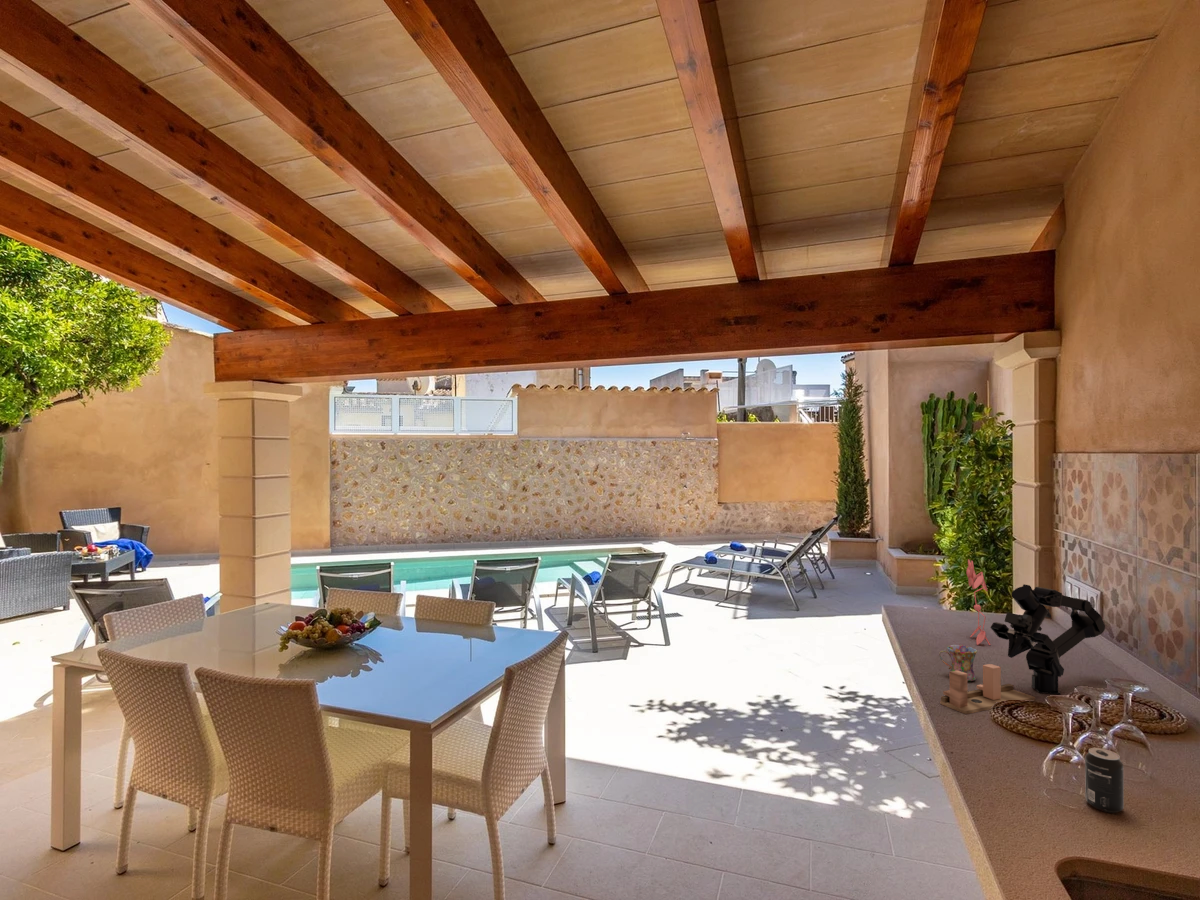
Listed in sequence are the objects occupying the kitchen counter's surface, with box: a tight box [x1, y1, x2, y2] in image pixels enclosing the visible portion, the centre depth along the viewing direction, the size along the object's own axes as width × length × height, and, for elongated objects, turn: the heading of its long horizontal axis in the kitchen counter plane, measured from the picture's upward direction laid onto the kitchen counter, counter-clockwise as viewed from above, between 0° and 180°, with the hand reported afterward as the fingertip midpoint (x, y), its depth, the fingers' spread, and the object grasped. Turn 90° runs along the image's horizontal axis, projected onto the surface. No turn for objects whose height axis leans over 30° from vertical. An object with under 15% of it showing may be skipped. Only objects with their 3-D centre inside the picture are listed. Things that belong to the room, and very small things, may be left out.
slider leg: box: [976, 663, 1002, 700], centre depth 211 cm, size 4×6×10 cm, turn 22°
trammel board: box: [939, 670, 1036, 715], centre depth 209 cm, size 32×9×11 cm, turn 112°
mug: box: [938, 644, 978, 682], centre depth 232 cm, size 12×9×11 cm
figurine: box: [965, 558, 991, 646], centre depth 280 cm, size 15×26×35 cm, turn 158°
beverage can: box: [1084, 747, 1125, 814], centre depth 146 cm, size 7×7×12 cm
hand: (1009, 656), depth 214 cm, fingers closed
